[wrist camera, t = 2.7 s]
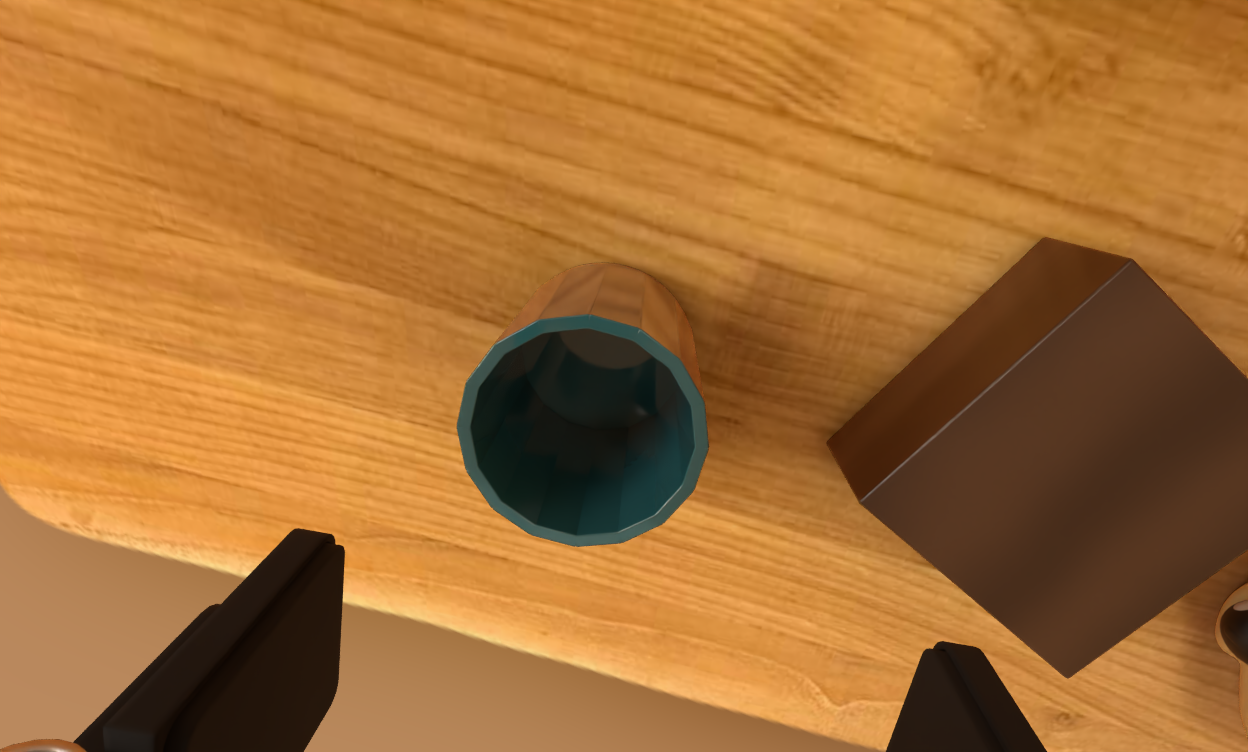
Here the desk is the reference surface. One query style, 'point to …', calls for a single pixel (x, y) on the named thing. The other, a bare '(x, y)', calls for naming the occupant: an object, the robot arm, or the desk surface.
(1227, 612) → the tan animal figurine
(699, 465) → the cup
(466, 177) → the desk surface
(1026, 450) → the block
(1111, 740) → the desk surface
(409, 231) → the desk surface
